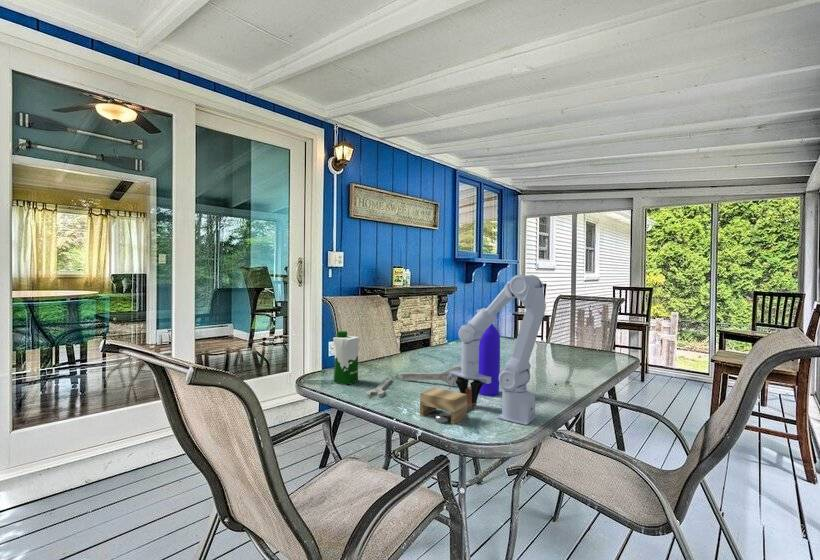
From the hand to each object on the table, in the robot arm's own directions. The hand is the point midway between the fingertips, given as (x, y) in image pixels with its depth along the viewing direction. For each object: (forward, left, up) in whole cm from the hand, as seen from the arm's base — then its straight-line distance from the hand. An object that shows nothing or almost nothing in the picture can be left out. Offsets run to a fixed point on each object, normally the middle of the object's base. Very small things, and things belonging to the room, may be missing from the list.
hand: (469, 401), depth 140 cm
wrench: (+26, -17, -2) cm, 31 cm away
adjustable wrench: (+36, +1, -2) cm, 36 cm away
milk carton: (+54, +2, -2) cm, 54 cm away
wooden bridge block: (+2, +13, -2) cm, 14 cm away
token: (0, +17, -2) cm, 17 cm away
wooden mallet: (0, +6, -2) cm, 6 cm away
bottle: (+2, -19, -2) cm, 19 cm away
